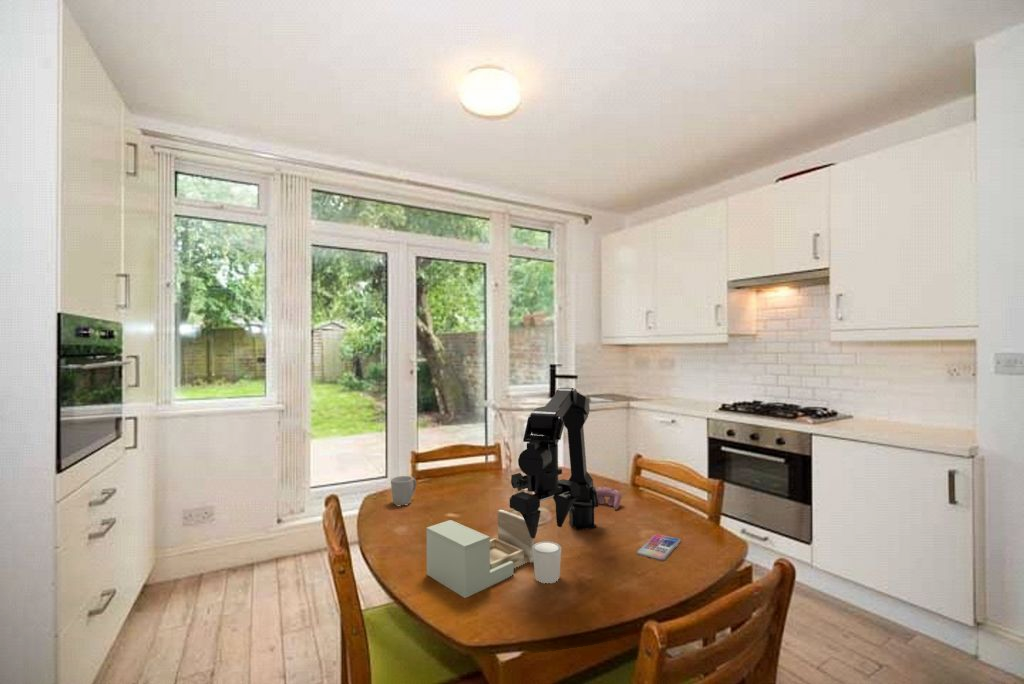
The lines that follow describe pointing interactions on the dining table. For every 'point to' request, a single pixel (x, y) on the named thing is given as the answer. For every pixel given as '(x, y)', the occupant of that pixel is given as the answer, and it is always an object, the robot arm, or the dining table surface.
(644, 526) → the dining table surface
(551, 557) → the grey and white tumbler
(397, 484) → the cup
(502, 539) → the drawer
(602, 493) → the video game controller
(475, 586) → the caddy
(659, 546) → the smartphone
